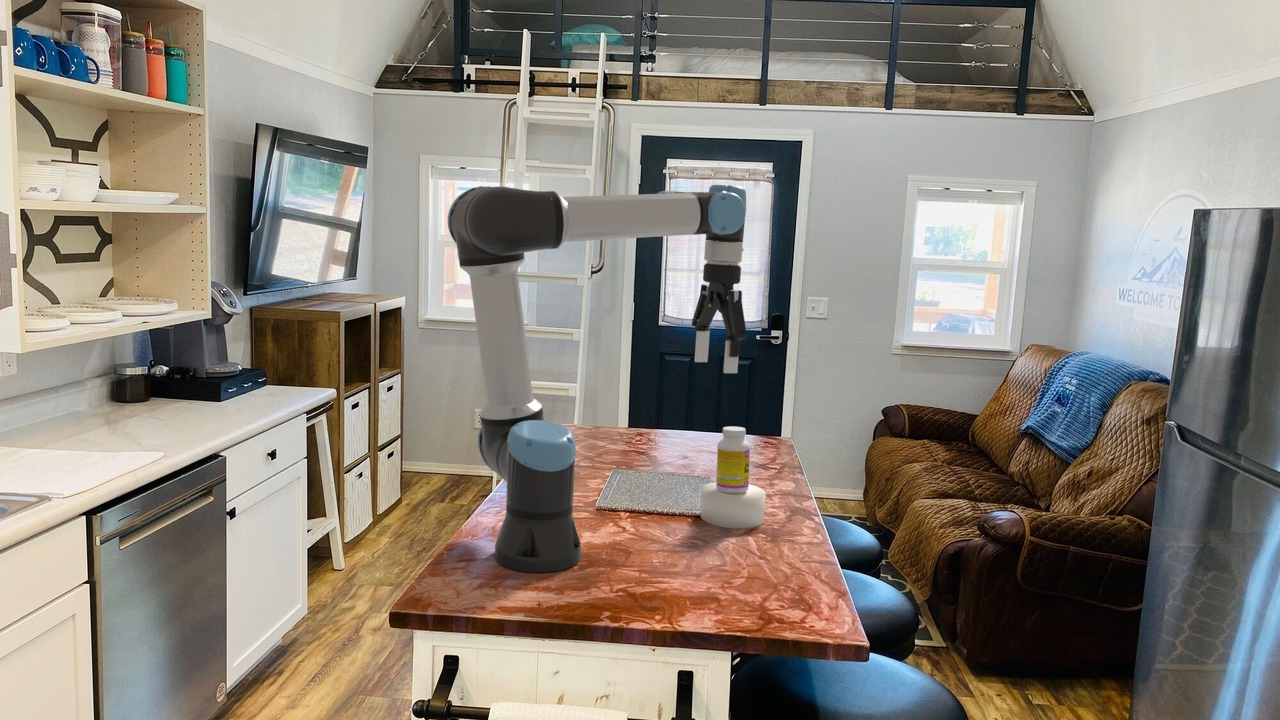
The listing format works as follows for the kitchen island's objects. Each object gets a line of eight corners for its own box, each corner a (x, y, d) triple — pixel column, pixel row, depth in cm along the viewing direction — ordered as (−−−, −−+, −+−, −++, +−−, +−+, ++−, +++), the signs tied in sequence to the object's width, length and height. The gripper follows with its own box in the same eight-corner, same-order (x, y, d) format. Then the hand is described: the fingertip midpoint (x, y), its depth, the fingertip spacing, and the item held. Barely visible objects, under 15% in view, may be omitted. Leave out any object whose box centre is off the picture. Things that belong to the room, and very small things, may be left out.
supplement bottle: (748, 495, 185) (750, 432, 183) (715, 493, 186) (717, 430, 184) (748, 486, 191) (750, 426, 190) (716, 485, 192) (718, 424, 191)
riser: (728, 533, 180) (730, 503, 180) (687, 514, 191) (689, 486, 190) (776, 523, 188) (778, 495, 187) (734, 505, 198) (736, 478, 197)
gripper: (769, 268, 175) (760, 377, 178) (712, 260, 197) (705, 357, 201) (734, 266, 172) (726, 378, 175) (680, 258, 195) (674, 357, 198)
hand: (715, 367), depth 188 cm, fingers open, 13 cm apart
